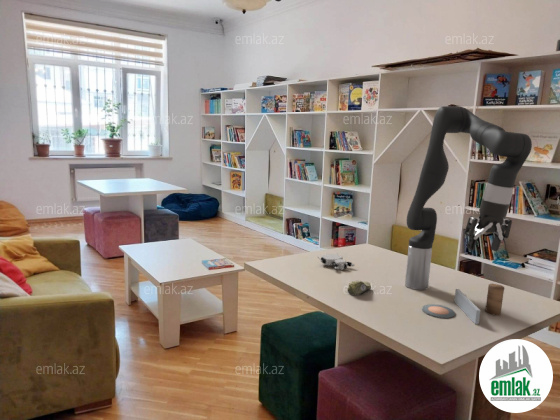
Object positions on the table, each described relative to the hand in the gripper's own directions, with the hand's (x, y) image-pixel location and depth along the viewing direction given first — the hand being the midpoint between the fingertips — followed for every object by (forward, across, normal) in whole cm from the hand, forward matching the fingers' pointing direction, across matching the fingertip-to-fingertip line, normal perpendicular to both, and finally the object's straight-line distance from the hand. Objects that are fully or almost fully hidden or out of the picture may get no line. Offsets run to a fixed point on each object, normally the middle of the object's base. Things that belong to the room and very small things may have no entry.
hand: (482, 249), depth 131 cm
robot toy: (+38, +15, -69) cm, 80 cm away
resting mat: (+29, -1, -13) cm, 32 cm away
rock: (+34, +18, -36) cm, 53 cm away
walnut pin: (+28, -21, -9) cm, 36 cm away
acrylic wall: (+29, -11, -11) cm, 33 cm away
